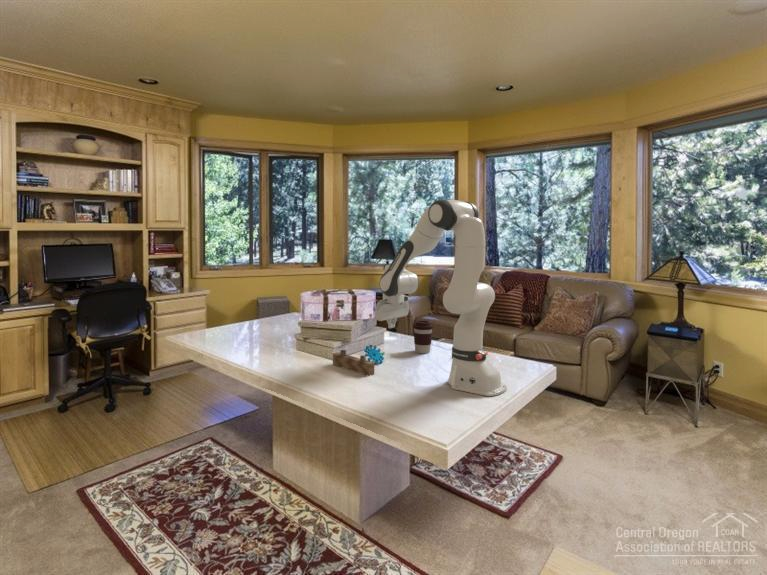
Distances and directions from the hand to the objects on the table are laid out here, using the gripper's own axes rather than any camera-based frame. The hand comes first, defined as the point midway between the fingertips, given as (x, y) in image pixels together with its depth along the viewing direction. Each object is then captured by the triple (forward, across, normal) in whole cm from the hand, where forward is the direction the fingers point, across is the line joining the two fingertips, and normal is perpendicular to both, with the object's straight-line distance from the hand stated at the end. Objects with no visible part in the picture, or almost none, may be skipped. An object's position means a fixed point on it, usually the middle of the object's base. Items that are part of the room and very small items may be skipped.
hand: (391, 327), depth 206 cm
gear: (+14, -11, 0) cm, 18 cm away
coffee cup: (+14, +18, -5) cm, 24 cm away
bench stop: (+14, -25, -1) cm, 29 cm away
